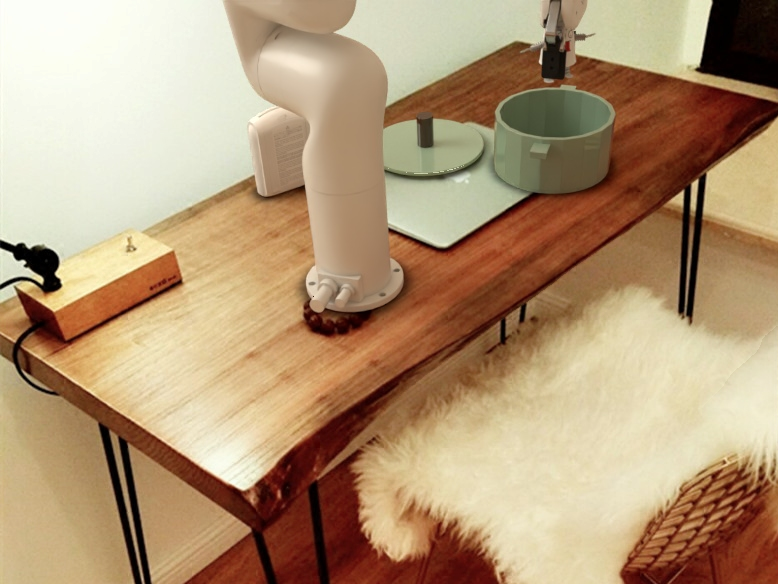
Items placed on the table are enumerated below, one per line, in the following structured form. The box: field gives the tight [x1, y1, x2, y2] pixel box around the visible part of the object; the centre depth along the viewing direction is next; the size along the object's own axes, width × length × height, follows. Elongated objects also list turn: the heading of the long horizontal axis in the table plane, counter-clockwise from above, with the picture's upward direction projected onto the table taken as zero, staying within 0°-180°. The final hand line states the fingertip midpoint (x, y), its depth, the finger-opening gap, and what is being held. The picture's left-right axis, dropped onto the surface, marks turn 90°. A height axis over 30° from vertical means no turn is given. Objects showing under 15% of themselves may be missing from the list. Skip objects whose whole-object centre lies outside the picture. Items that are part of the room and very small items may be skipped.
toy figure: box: [519, 22, 596, 84], centre depth 127 cm, size 12×6×9 cm, turn 112°
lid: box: [383, 111, 485, 177], centre depth 142 cm, size 18×18×6 cm
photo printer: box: [246, 105, 310, 198], centre depth 134 cm, size 10×4×12 cm, turn 123°
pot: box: [493, 84, 617, 195], centre depth 136 cm, size 17×23×8 cm
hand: (557, 67), depth 128 cm, fingers closed on toy figure, 6 cm apart
